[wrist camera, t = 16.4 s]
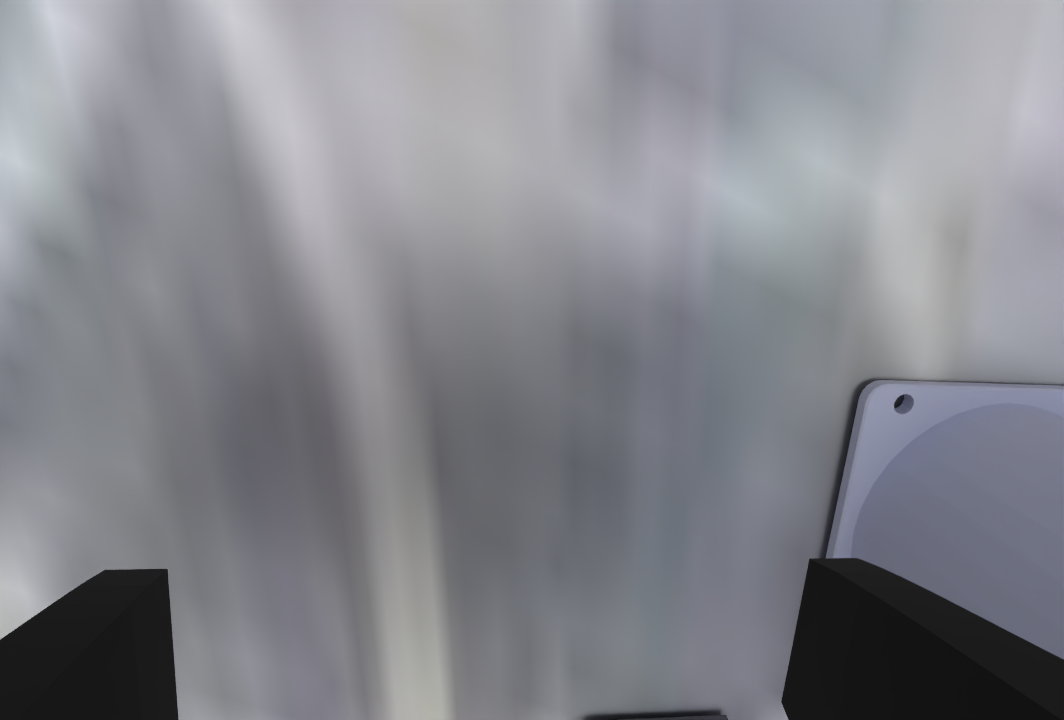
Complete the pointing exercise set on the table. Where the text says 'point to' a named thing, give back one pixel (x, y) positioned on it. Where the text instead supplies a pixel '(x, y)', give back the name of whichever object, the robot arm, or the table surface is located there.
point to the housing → (687, 718)
